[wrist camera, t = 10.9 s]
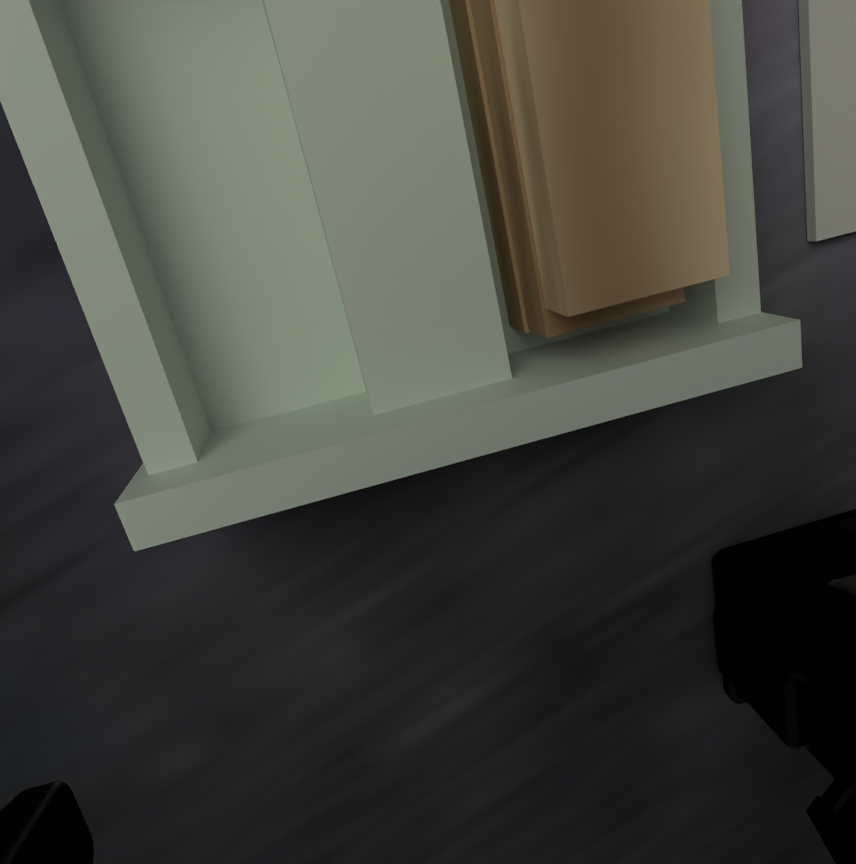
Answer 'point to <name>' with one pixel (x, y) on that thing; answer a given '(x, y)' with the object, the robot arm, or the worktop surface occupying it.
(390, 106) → the rack
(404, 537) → the worktop surface
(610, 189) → the offcut stack
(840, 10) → the grey mat
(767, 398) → the worktop surface
